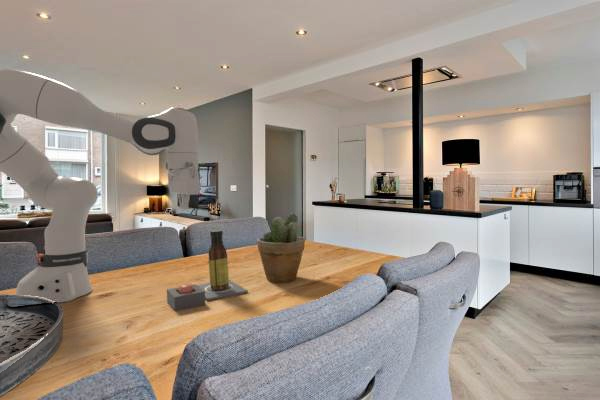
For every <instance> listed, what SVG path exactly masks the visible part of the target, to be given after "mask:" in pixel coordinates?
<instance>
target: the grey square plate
mask: <svg viewBox="0 0 600 400" xmlns="http://www.w3.org/2000/svg"><path fill="white" fill-rule="evenodd" d="M228 284H229V286H228V288H226V289H224V290H212V289H211V285H210V282H207V283H206V282H205V283H201V284H196V285H197V286H198V287H200V288H201V289H202V290H204V291H205V302H209V301H214V300H219V299H224V298H229V297H234V296H239V295H244V294H248V292H249V290H248V289H246V288H245V287H243V286H240V285H239V284H238V283H235V282H234V281H232V280H231V279H229V282H228Z"/></svg>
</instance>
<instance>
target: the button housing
mask: <svg viewBox="0 0 600 400" xmlns="http://www.w3.org/2000/svg"><path fill="white" fill-rule="evenodd" d="M192 285H193V292H189V293H183V294H179V292H178V287H172V288H167V289H166V302H167V304H168V305H169V306H170V307H171V308H172V309H173V311H181V310H184V309H190V308H195V307H200V306H205V305H206V300H205V291H204V290H202V289H201V288H200V287H198V286H197V285H198V284H192Z"/></svg>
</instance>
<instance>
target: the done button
mask: <svg viewBox="0 0 600 400" xmlns="http://www.w3.org/2000/svg"><path fill="white" fill-rule="evenodd" d="M193 285H194V284H192V283H184V284H183V283H182V284H179V285H178V292H179V294H183V293H189V292H193Z"/></svg>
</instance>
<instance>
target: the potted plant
mask: <svg viewBox="0 0 600 400" xmlns="http://www.w3.org/2000/svg"><path fill="white" fill-rule="evenodd" d="M298 220H299V218H298V215H297V214H295V213H293V212H290V213H288V214H287V216H286V219H284V218H283V217H281V216H276V217H274V218H273V219H272V223H271V224H272V225H271V227H272V228H271V230H269V231H267V232H264V234H263V235H262V237H260V238H257V239H256V243H257V251H258V252H259V255H260V256H259V257H260V260H261V264H262V267H263V270H264V274H265V278H266V280H267V281H268V282H271V283H280V284H282V283H291V282H294V281H295V280H296V278H297V275H298V272H299V268H300V265H301V261H302V259H303V258H302V256H303V251H304V250H305V244H306V243H305V242H306V238H305V237H304V236H301V235H300V236H299V235H297V231H298V228H299V227H298Z"/></svg>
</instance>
